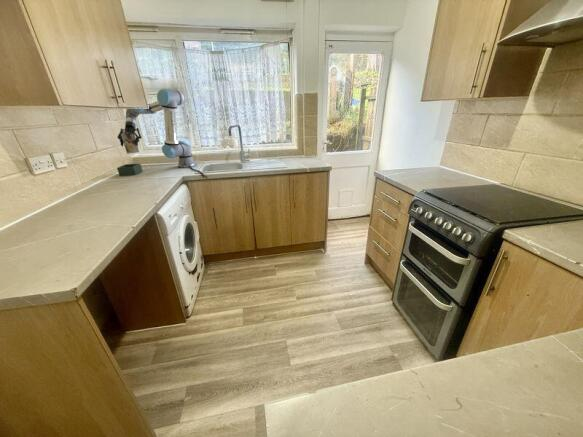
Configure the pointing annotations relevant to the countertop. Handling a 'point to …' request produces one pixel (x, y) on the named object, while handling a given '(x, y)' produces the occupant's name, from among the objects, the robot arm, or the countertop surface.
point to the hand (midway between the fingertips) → (129, 145)
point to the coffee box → (130, 142)
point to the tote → (129, 169)
